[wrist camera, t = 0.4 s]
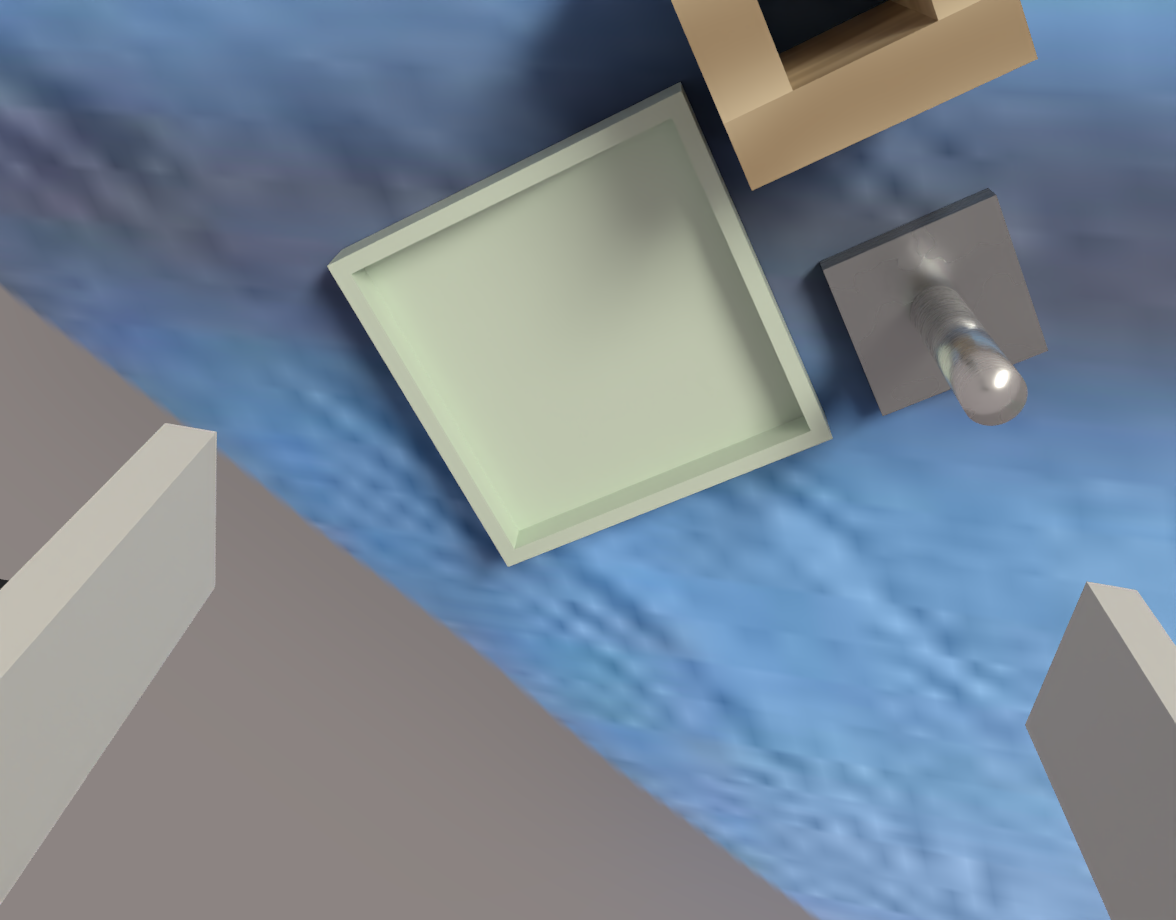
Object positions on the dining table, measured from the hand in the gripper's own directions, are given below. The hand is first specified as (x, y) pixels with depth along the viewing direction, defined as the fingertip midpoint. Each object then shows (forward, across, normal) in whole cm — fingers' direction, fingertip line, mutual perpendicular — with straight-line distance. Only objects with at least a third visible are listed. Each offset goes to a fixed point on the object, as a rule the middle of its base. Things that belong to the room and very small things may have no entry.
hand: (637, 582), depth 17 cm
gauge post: (+24, +10, -2) cm, 26 cm away
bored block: (+24, +3, +8) cm, 26 cm away
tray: (+24, -2, -5) cm, 25 cm away
